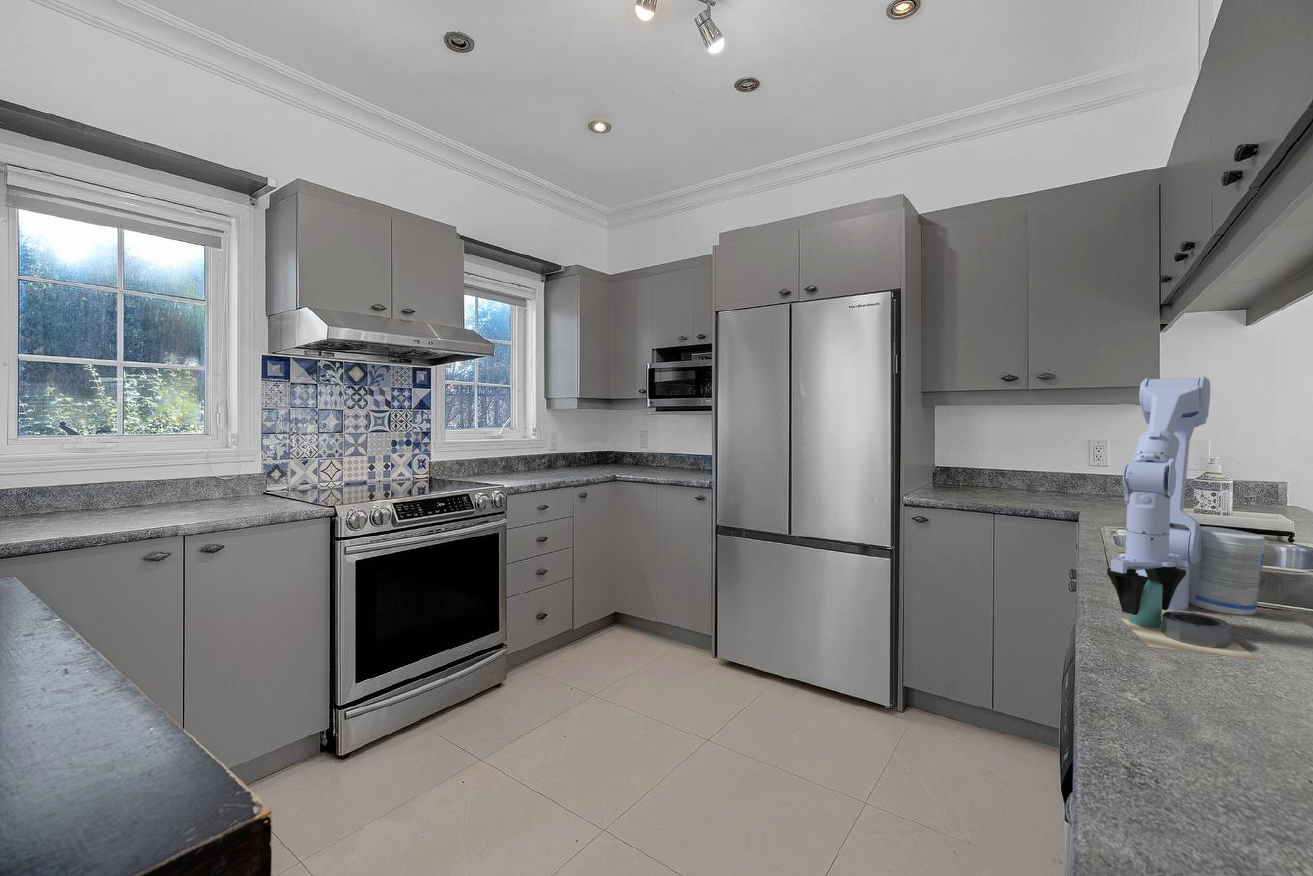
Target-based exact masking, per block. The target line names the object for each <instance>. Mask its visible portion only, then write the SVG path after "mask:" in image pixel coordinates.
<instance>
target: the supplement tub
mask: <svg viewBox="0 0 1313 876" xmlns="http://www.w3.org/2000/svg"><path fill="white" fill-rule="evenodd" d="M1201 538H1202V548H1201V556H1200V560H1199V562H1197V563H1196V564H1191V565H1190V576H1189V604H1190V605H1192V606H1194V607H1197V608H1200V609H1204V610H1207V611H1211V612H1212V611H1213V612H1216V613H1223V614H1228V615H1239V616H1240V615H1241V616H1242V615H1243V616H1244V615H1245V616H1248V615H1253V614H1256V611H1257V605H1258V598H1259V592H1260V585H1261V578H1262V571H1263V564H1264V559H1265V558H1264V557H1265V549H1266V547H1265V546H1266V545H1265V540H1266V538H1265V537H1264V536H1262V535H1260V534H1257V533H1254V532H1253V533H1252V532H1247V531H1242V530H1237V529H1231V528H1224V527H1215V526H1201Z"/></svg>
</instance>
